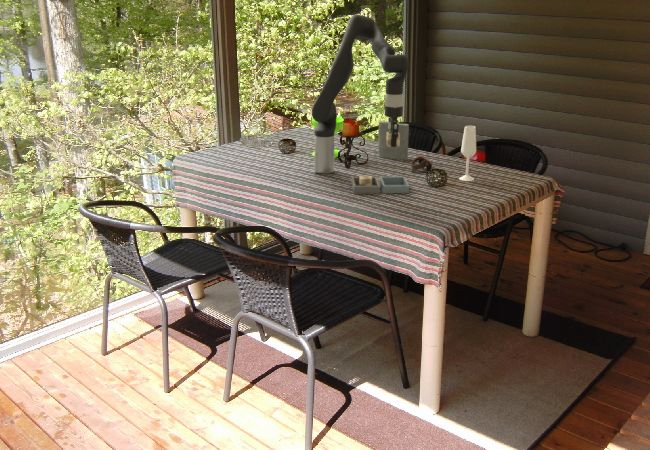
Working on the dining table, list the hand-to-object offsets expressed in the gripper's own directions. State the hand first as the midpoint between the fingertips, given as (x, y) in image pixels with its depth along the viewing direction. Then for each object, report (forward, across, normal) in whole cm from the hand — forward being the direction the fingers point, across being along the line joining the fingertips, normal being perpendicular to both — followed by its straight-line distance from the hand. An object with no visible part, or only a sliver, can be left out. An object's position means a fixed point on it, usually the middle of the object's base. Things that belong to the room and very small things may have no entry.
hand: (392, 144), depth 305 cm
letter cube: (0, 0, 0) cm, 0 cm away
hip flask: (+22, -58, +8) cm, 62 cm away
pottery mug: (+22, -34, +19) cm, 44 cm away
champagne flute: (+22, -20, +37) cm, 47 cm away
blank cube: (+21, -6, -10) cm, 24 cm away
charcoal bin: (+21, -6, -10) cm, 25 cm away
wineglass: (+22, -66, -24) cm, 74 cm away
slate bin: (+21, -6, +2) cm, 22 cm away
